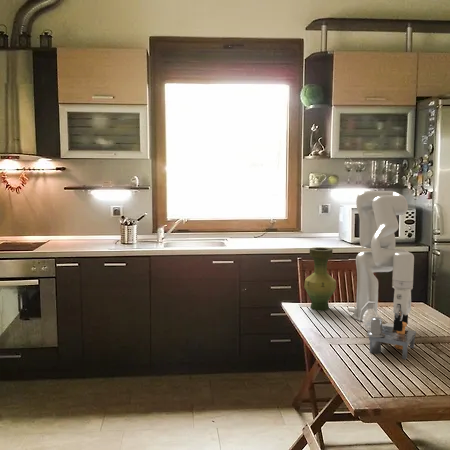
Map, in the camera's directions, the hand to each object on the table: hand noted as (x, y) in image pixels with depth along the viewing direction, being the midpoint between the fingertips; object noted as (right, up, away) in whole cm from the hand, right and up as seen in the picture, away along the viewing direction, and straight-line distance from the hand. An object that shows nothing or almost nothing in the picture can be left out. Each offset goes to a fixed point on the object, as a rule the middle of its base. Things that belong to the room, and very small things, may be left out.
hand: (400, 327), depth 194 cm
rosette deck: (-6, -8, -1) cm, 10 cm away
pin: (0, -8, +1) cm, 8 cm away
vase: (-21, -2, +57) cm, 61 cm away
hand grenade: (-7, -6, +21) cm, 23 cm away
